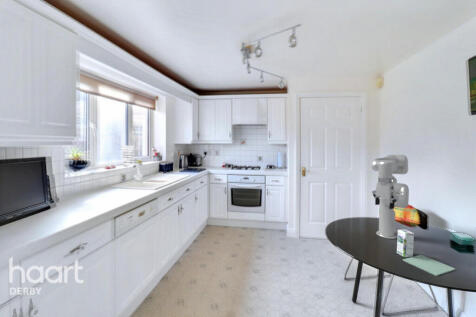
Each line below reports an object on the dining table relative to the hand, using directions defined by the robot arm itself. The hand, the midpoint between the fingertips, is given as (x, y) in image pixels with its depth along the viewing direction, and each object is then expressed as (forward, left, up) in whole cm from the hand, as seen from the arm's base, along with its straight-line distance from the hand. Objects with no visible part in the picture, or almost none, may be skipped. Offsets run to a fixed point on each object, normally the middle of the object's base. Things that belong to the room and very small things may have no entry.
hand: (384, 206), depth 140 cm
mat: (-1, +25, -26) cm, 36 cm away
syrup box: (-1, +13, -26) cm, 29 cm away
